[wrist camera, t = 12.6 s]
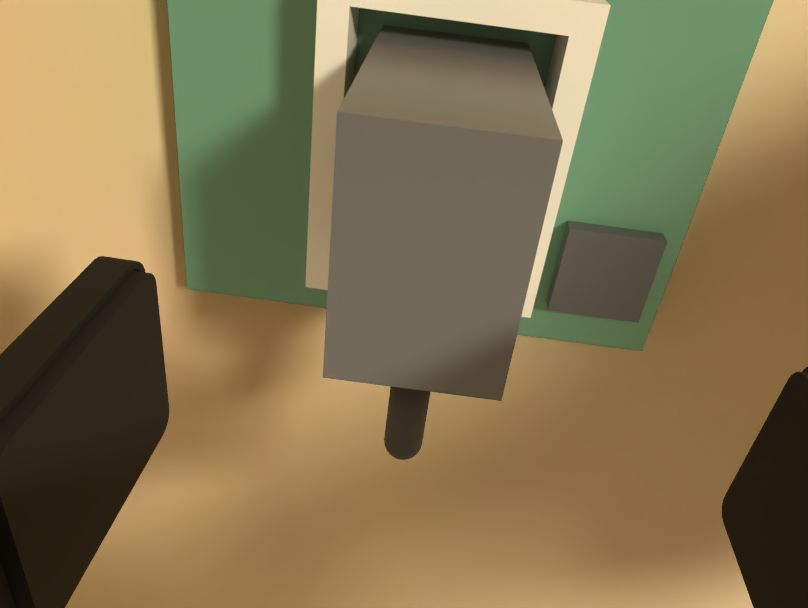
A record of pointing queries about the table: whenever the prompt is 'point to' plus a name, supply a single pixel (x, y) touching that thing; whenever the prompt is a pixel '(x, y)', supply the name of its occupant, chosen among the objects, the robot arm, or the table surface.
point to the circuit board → (568, 96)
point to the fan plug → (435, 219)
